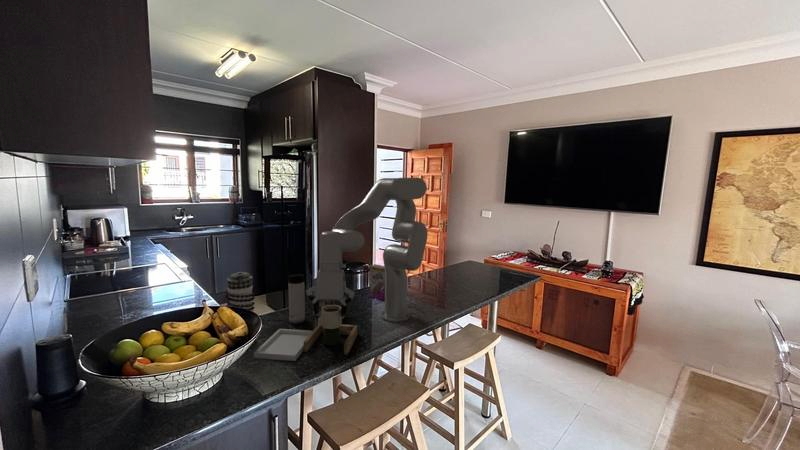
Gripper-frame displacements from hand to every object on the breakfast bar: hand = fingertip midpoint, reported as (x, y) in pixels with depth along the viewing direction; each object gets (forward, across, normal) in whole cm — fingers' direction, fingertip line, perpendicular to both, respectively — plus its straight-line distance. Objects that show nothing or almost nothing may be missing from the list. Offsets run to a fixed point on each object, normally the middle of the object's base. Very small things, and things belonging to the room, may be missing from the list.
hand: (330, 314), depth 115 cm
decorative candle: (+12, +31, +2) cm, 34 cm away
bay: (+11, -1, -1) cm, 11 cm away
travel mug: (+11, +19, -18) cm, 29 cm away
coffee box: (+11, +11, -28) cm, 32 cm away
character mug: (+11, -1, -1) cm, 11 cm away
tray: (+11, +14, +3) cm, 19 cm away
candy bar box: (+10, -11, -50) cm, 52 cm away
